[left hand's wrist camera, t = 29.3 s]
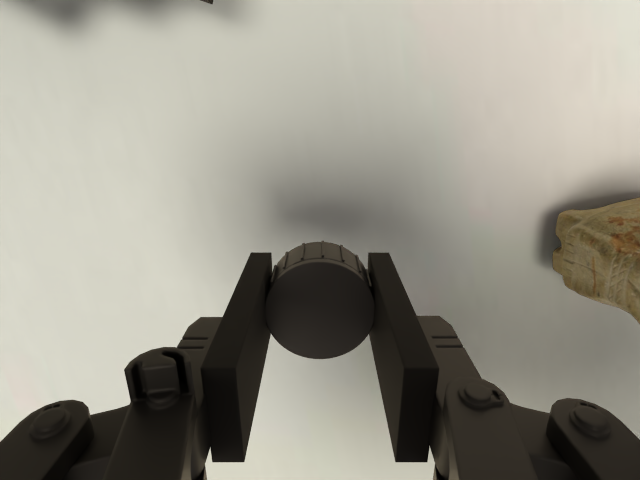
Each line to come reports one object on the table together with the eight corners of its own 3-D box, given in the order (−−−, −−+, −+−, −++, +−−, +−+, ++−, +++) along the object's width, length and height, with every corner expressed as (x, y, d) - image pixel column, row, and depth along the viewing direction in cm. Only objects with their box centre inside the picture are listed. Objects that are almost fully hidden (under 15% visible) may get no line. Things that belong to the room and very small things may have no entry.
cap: (331, 345, 16) (333, 378, 14) (250, 298, 15) (241, 325, 13) (390, 275, 14) (400, 301, 13) (306, 220, 14) (304, 238, 12)
